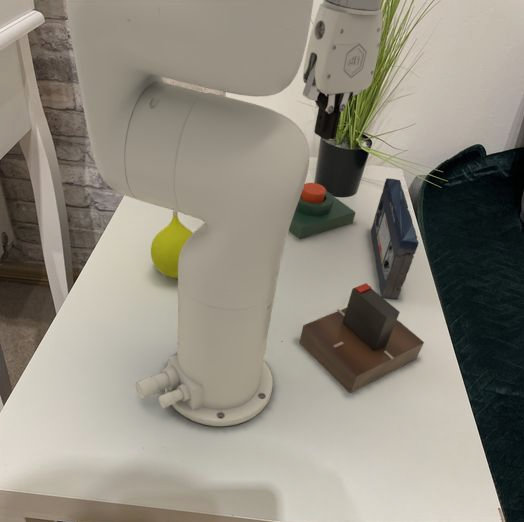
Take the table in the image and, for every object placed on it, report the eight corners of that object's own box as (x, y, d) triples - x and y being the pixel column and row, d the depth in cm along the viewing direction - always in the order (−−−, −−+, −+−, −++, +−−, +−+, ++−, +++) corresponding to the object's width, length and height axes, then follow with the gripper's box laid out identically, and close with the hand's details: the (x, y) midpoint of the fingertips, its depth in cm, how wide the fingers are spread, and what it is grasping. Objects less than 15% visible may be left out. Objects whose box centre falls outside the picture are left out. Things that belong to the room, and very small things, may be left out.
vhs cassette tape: (369, 231, 90) (386, 176, 83) (386, 233, 90) (404, 179, 83) (378, 297, 77) (398, 240, 70) (397, 300, 77) (420, 243, 70)
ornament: (178, 252, 79) (178, 191, 72) (211, 274, 76) (215, 213, 69) (141, 271, 75) (137, 208, 68) (175, 294, 72) (175, 232, 65)
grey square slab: (386, 345, 65) (400, 310, 61) (374, 351, 64) (387, 316, 60) (354, 316, 68) (366, 281, 64) (342, 321, 67) (353, 286, 63)
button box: (299, 239, 85) (303, 218, 83) (264, 210, 91) (266, 189, 88) (352, 223, 91) (358, 202, 88) (316, 196, 96) (320, 176, 94)
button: (310, 206, 86) (312, 196, 85) (295, 194, 88) (297, 185, 87) (328, 201, 88) (331, 191, 87) (313, 190, 90) (315, 180, 89)
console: (350, 393, 63) (357, 376, 61) (298, 341, 68) (302, 323, 66) (417, 359, 68) (425, 341, 66) (364, 313, 74) (370, 296, 72)
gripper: (329, 2, 62) (302, 153, 75) (413, 2, 70) (375, 139, 82) (291, -13, 66) (271, 132, 79) (374, -12, 74) (343, 121, 86)
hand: (324, 135), depth 80 cm, fingers closed
